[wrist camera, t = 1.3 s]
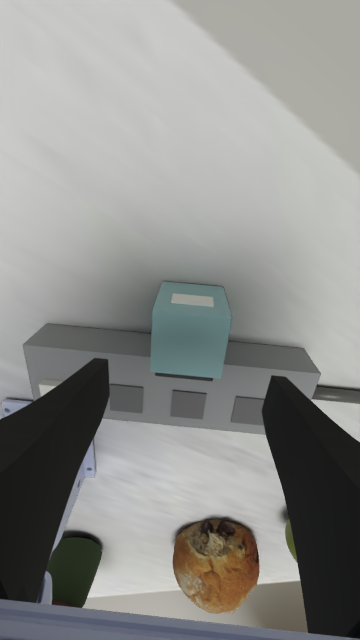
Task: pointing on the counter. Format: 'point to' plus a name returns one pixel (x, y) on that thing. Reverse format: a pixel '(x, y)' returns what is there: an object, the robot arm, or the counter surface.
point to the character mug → (73, 570)
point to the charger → (190, 330)
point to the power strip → (174, 378)
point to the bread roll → (216, 564)
